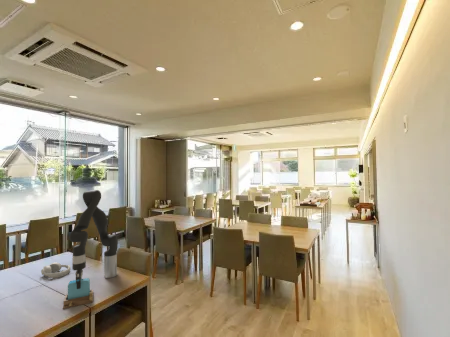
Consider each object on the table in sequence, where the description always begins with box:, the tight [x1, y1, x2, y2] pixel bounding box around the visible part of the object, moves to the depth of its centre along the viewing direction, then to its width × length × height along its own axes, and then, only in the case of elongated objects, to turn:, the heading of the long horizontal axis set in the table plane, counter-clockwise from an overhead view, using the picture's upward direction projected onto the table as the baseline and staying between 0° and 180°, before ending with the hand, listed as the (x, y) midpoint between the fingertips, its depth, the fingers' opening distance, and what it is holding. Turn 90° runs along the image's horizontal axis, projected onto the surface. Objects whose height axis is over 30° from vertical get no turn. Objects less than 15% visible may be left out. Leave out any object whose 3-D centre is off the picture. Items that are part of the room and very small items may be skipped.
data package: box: [67, 277, 91, 300], centre depth 157 cm, size 12×4×12 cm, turn 114°
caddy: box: [62, 289, 94, 310], centre depth 156 cm, size 14×16×6 cm
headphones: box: [40, 261, 71, 279], centre depth 198 cm, size 18×8×20 cm
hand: (79, 285), depth 157 cm, fingers open, 8 cm apart
